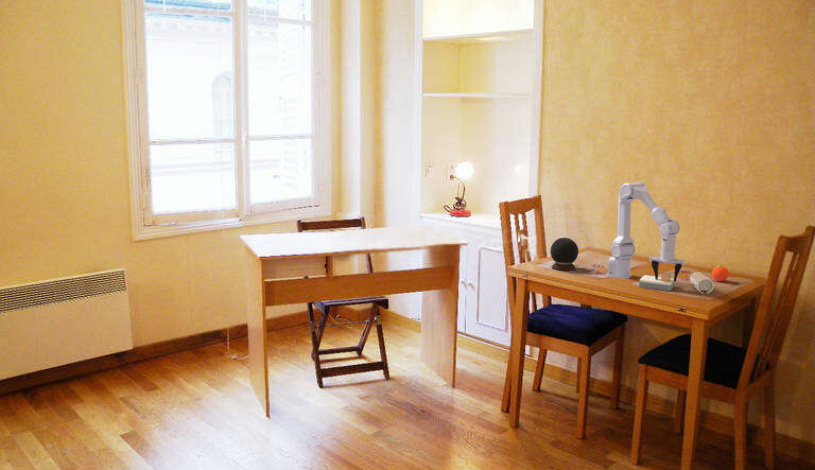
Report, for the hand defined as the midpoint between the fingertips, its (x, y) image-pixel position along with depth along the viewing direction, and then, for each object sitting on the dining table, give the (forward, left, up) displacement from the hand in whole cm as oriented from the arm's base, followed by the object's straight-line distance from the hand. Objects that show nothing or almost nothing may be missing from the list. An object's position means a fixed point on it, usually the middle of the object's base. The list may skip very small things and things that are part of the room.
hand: (665, 279), depth 325 cm
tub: (-3, 0, -4) cm, 5 cm away
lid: (-3, 0, -1) cm, 4 cm away
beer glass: (+11, +14, -1) cm, 17 cm away
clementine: (+19, +27, -4) cm, 33 cm away
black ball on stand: (-49, +14, -4) cm, 52 cm away
